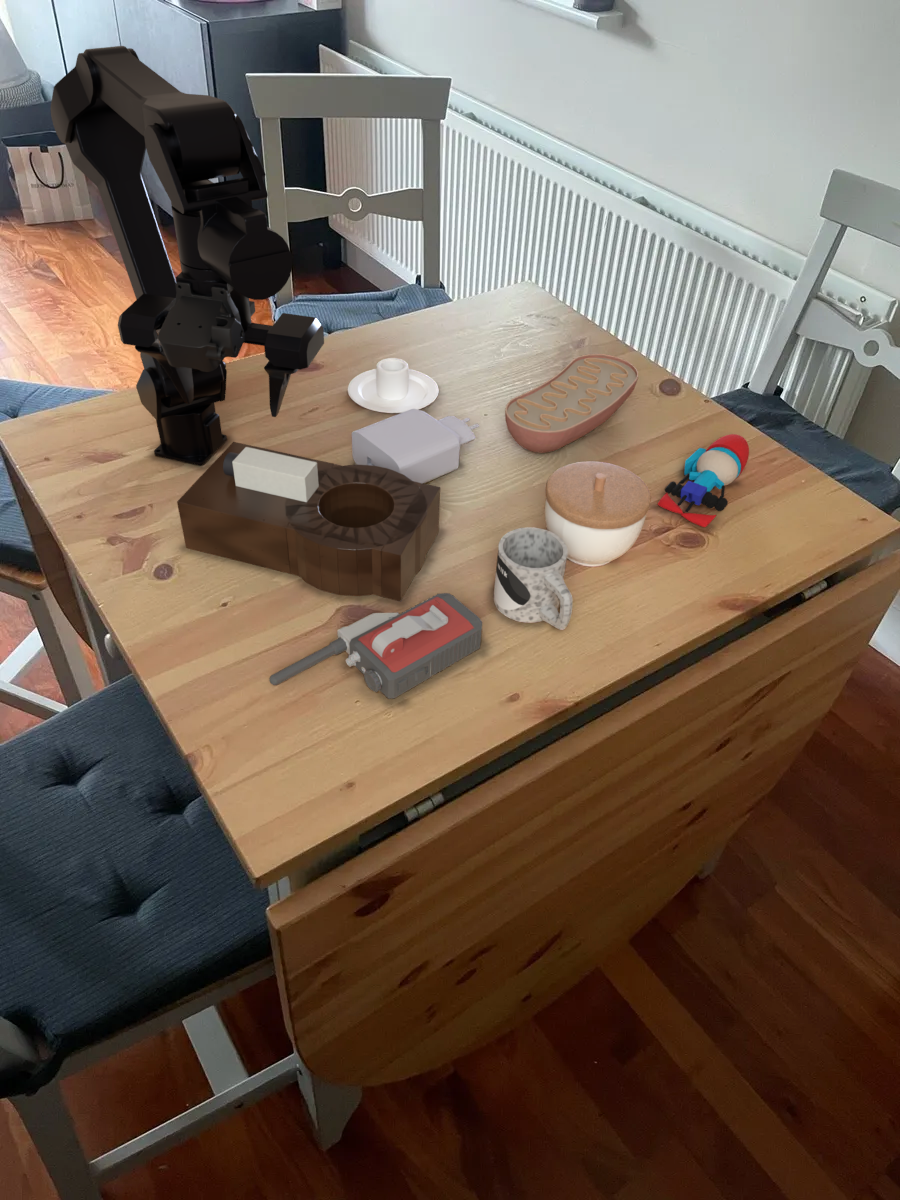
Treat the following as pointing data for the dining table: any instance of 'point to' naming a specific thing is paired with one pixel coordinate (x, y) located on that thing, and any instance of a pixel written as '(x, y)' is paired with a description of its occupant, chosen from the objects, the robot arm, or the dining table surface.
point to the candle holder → (393, 388)
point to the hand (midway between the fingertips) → (232, 408)
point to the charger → (413, 444)
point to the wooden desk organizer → (319, 526)
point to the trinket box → (596, 510)
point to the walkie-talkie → (401, 645)
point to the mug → (532, 577)
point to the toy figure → (708, 477)
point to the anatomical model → (570, 402)
